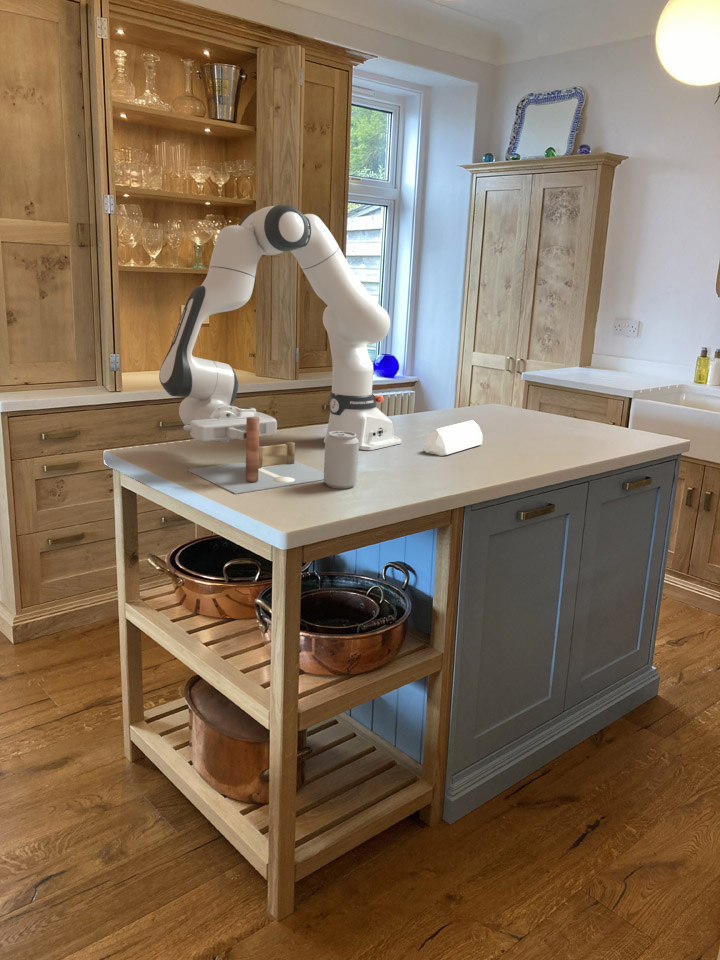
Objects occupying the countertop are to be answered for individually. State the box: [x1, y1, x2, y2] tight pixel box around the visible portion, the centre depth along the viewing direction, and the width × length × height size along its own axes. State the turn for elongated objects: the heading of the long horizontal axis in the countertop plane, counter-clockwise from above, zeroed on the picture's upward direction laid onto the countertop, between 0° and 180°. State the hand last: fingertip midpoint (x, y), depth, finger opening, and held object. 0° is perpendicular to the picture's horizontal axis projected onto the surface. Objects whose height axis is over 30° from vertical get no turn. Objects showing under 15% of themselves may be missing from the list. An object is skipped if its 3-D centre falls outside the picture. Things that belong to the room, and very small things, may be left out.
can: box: [323, 431, 360, 490], centre depth 172 cm, size 8×8×12 cm
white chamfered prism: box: [422, 419, 484, 457], centre depth 215 cm, size 7×7×24 cm
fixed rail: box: [259, 441, 296, 469], centre depth 186 cm, size 12×2×5 cm, turn 129°
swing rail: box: [245, 417, 260, 482], centre depth 175 cm, size 12×3×14 cm, turn 3°
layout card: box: [186, 460, 324, 495], centre depth 179 cm, size 27×22×1 cm
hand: (251, 435), depth 171 cm, fingers closed
